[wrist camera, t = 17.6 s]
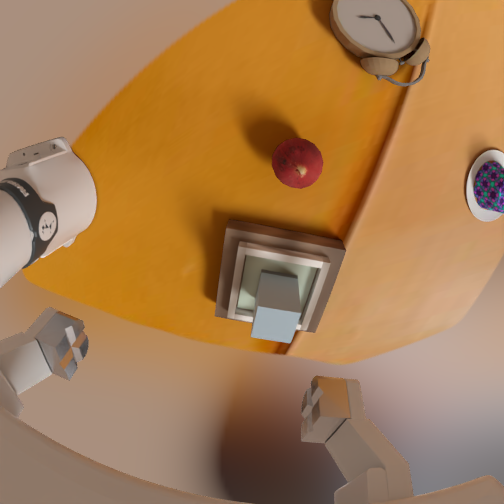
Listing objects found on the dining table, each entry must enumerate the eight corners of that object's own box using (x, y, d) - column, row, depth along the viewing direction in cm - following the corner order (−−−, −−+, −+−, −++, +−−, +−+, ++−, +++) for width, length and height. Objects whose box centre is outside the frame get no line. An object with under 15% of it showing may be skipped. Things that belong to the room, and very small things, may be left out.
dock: (217, 304, 47) (213, 322, 43) (229, 219, 40) (224, 232, 36) (313, 320, 48) (315, 339, 44) (341, 240, 40) (348, 256, 36)
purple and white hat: (462, 224, 38) (479, 238, 33) (463, 149, 32) (483, 157, 28) (509, 215, 35) (527, 227, 31) (512, 148, 30) (532, 155, 26)
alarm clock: (385, -28, 20) (454, 67, 23) (378, -11, 24) (438, 75, 27) (312, -7, 23) (384, 95, 26) (311, 10, 28) (374, 102, 31)
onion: (264, 166, 36) (261, 181, 29) (285, 127, 34) (288, 132, 27) (304, 187, 37) (311, 207, 30) (326, 149, 35) (339, 160, 28)
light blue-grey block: (255, 298, 42) (250, 336, 35) (261, 269, 40) (258, 306, 33) (289, 304, 42) (290, 343, 35) (297, 275, 40) (301, 313, 33)
